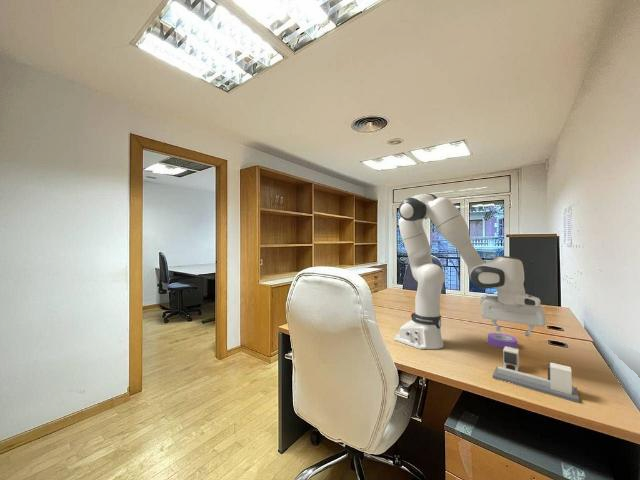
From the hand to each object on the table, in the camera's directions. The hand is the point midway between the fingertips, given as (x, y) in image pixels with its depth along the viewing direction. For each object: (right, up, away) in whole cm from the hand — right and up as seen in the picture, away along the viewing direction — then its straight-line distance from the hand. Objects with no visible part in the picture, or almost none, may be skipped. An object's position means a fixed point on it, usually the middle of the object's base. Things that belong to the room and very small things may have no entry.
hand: (512, 333), depth 102 cm
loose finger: (0, -13, 0) cm, 13 cm away
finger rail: (-2, -13, -12) cm, 18 cm away
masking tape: (+12, -14, +24) cm, 30 cm away
